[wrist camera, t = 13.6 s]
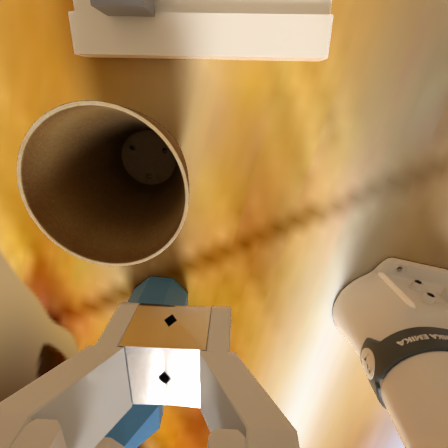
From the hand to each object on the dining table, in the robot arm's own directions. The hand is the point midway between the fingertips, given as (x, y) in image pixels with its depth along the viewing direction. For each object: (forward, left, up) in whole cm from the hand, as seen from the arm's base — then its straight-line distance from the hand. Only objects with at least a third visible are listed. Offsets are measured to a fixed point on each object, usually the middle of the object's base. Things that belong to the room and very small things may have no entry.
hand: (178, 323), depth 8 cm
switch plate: (+3, -16, -34) cm, 38 cm away
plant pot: (+10, +2, -34) cm, 36 cm away
